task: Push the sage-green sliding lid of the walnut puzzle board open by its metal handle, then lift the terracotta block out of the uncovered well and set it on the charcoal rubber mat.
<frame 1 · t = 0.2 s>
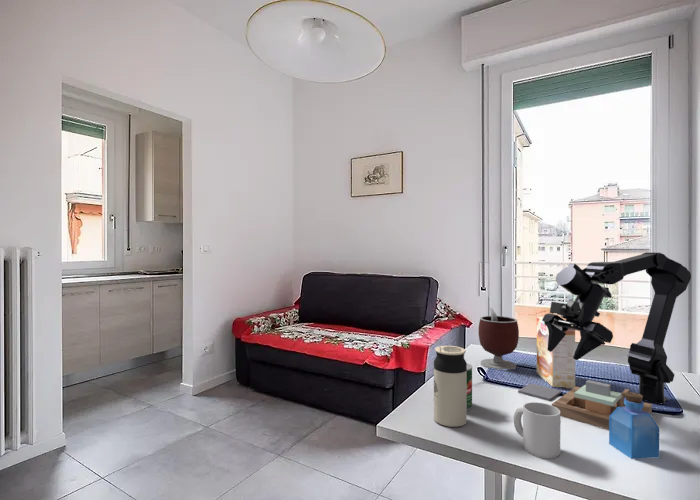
hand: (561, 355, 105), 15 cm above the table, tool tilted 30°, fingers open, 9 cm apart
mate gourd: (497, 365, 146), on the table
mat: (539, 392, 118), on the table
perfume bottle: (633, 451, 85), on the table
cup: (535, 448, 86), on the table
lid: (597, 390, 101), point 7 cm above the table, slide at 0.0 cm
puzzle board: (597, 417, 101), on the table
coffeecake box: (554, 380, 129), on the table
canned tomato: (457, 405, 109), on the table
travel mug: (449, 421, 99), on the table
block: (597, 408, 101), in the puzzle board
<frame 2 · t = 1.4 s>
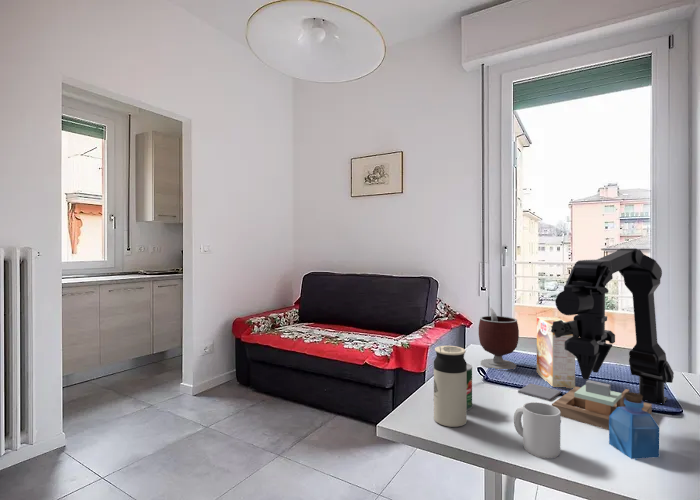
hand: (590, 375, 97), 12 cm above the table, tool pointing down, fingers open, 7 cm apart
nothing on the table moved.
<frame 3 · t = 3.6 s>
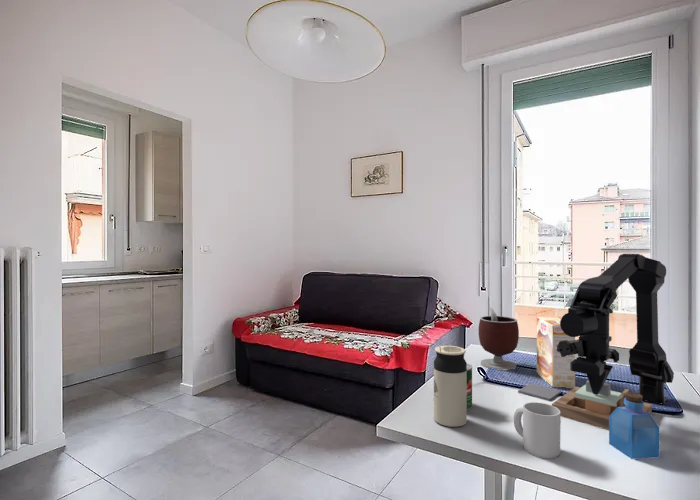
hand: (595, 394, 99), 7 cm above the table, tool pointing down, fingers closed
lid: (598, 389, 101), point 7 cm above the table, slide at 0.2 cm, touching gripper
everything else where it was.
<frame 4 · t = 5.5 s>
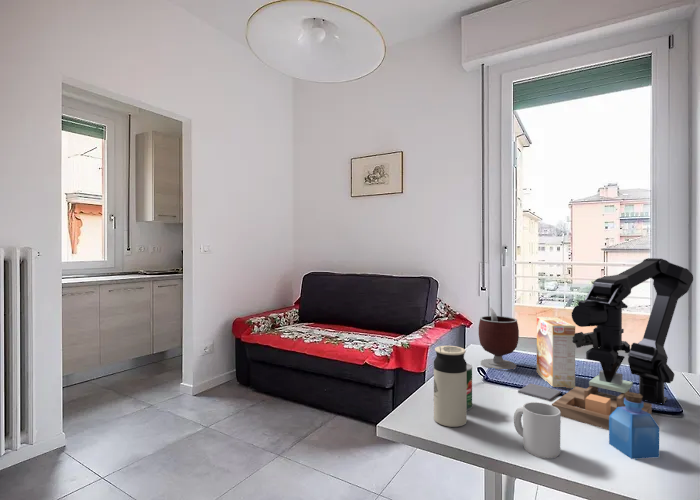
hand: (608, 382, 108), 7 cm above the table, tool pointing down, fingers closed
lid: (610, 379, 109), point 7 cm above the table, slide at 12.1 cm, touching gripper
everything else where it was.
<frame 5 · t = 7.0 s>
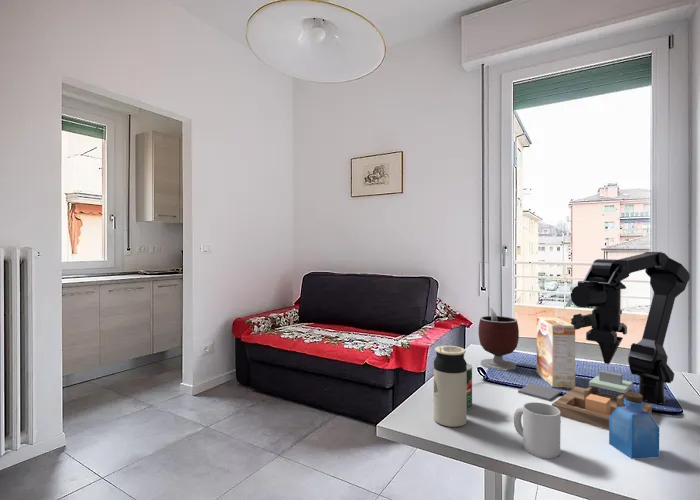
hand: (607, 363, 107), 12 cm above the table, tool pointing down, fingers closed
lid: (610, 379, 109), point 7 cm above the table, slide at 12.0 cm
everything else where it was.
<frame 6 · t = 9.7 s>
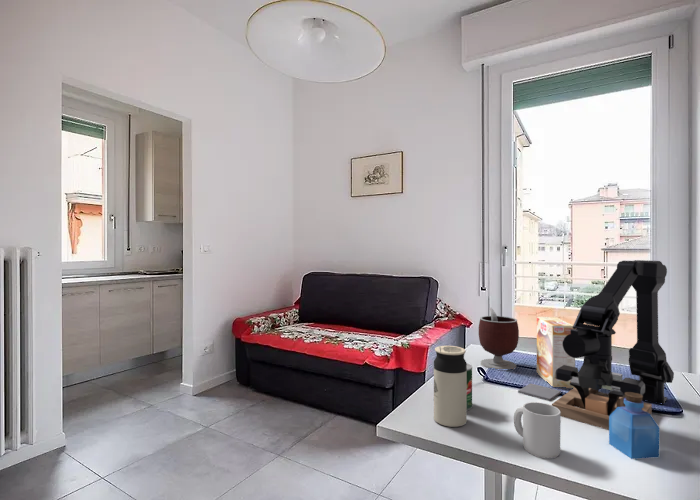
hand: (597, 413, 101), 1 cm above the table, tool pointing down, fingers closed on block, 4 cm apart
block: (597, 407, 101), in the puzzle board, touching gripper
everything else where it was.
when the fingers open (3 cm above the table, at t = 14.8 s): block drops 1 cm, resting on mat.
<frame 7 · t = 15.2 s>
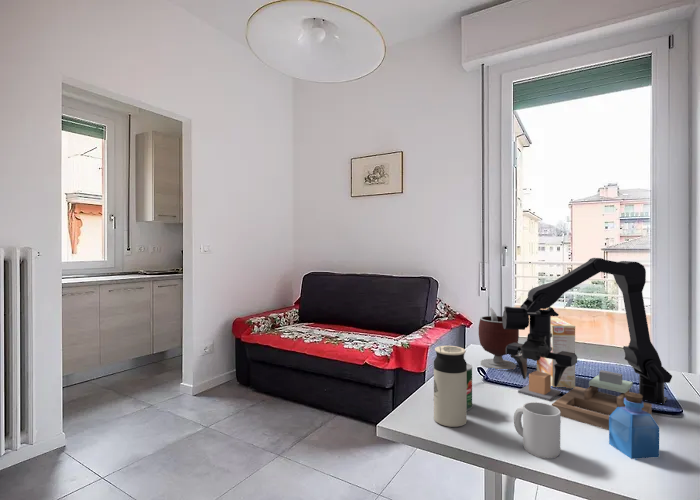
hand: (539, 382, 118), 3 cm above the table, tool pointing down, fingers open, 9 cm apart
block: (539, 382, 118), on the mat, point 3 cm above the table
everything else where it was.
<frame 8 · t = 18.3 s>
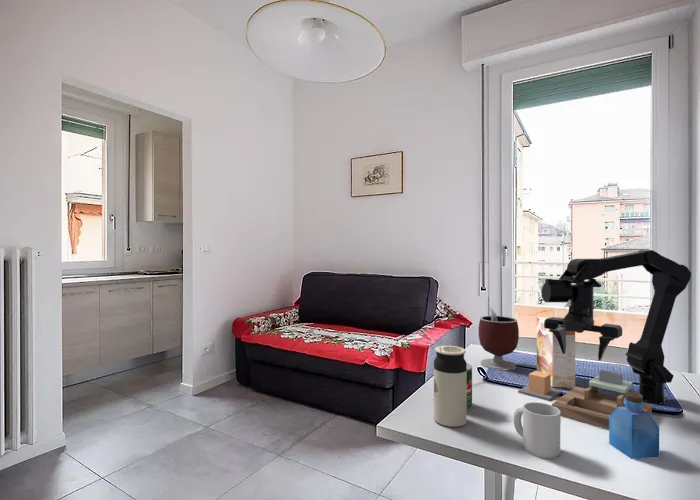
hand: (581, 356, 113), 12 cm above the table, tool pointing down, fingers open, 9 cm apart
nothing on the table moved.
at the end: lid slide at 12.0 cm; block inside the target area on the mat (0.1 cm from its centre), point 3.1 cm above the mat's base; block tilted 0° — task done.
